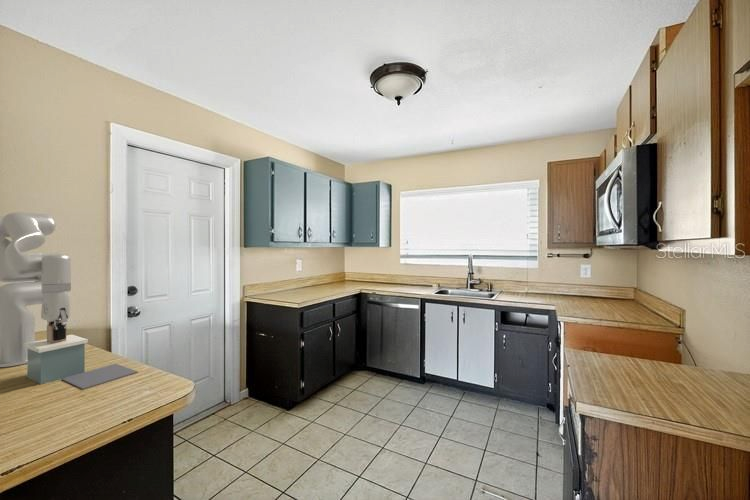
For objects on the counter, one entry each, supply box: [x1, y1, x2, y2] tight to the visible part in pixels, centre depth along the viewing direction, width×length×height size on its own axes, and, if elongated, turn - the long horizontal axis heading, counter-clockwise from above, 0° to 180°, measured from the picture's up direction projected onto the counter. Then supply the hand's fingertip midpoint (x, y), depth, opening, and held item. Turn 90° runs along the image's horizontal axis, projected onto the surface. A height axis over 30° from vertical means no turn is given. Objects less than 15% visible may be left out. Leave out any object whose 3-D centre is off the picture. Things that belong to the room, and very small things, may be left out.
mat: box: [61, 363, 139, 391], centre depth 114 cm, size 16×16×1 cm
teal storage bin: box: [27, 343, 86, 385], centre depth 115 cm, size 12×12×11 cm
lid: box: [24, 324, 89, 353], centre depth 115 cm, size 13×13×8 cm
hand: (56, 338), depth 115 cm, fingers closed on lid, 4 cm apart
